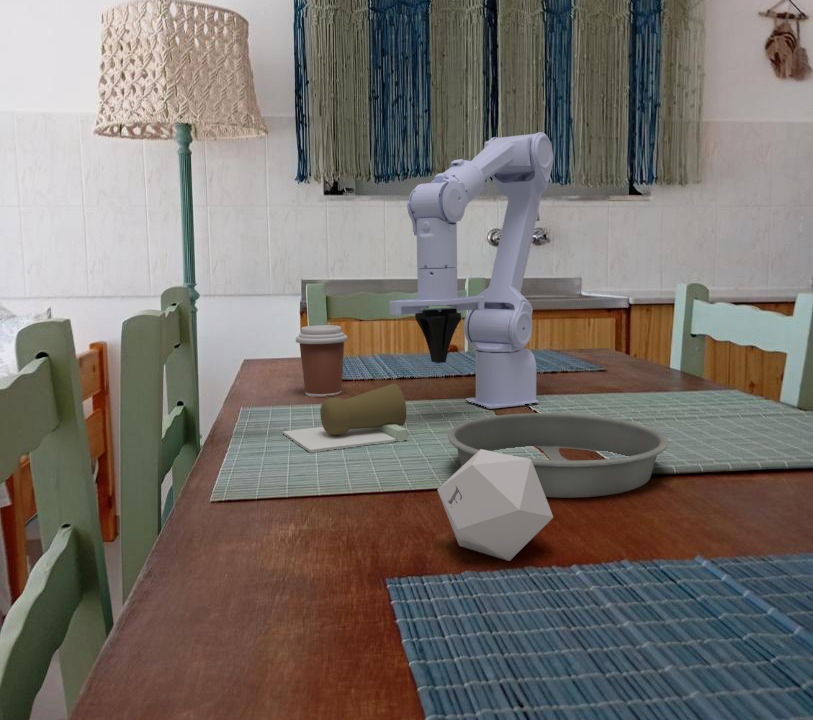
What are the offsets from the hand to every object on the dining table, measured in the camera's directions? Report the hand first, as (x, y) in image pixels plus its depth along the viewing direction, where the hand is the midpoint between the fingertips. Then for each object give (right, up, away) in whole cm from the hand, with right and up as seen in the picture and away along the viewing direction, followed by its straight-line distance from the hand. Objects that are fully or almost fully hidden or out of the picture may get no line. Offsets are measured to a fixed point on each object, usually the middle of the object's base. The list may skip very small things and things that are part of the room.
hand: (438, 362), depth 119 cm
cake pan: (+12, -13, -25) cm, 31 cm away
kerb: (-8, -10, -5) cm, 13 cm away
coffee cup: (-19, -6, +26) cm, 33 cm away
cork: (-6, -6, -4) cm, 9 cm away
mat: (-14, -10, -8) cm, 19 cm away
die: (+3, -16, -49) cm, 52 cm away
